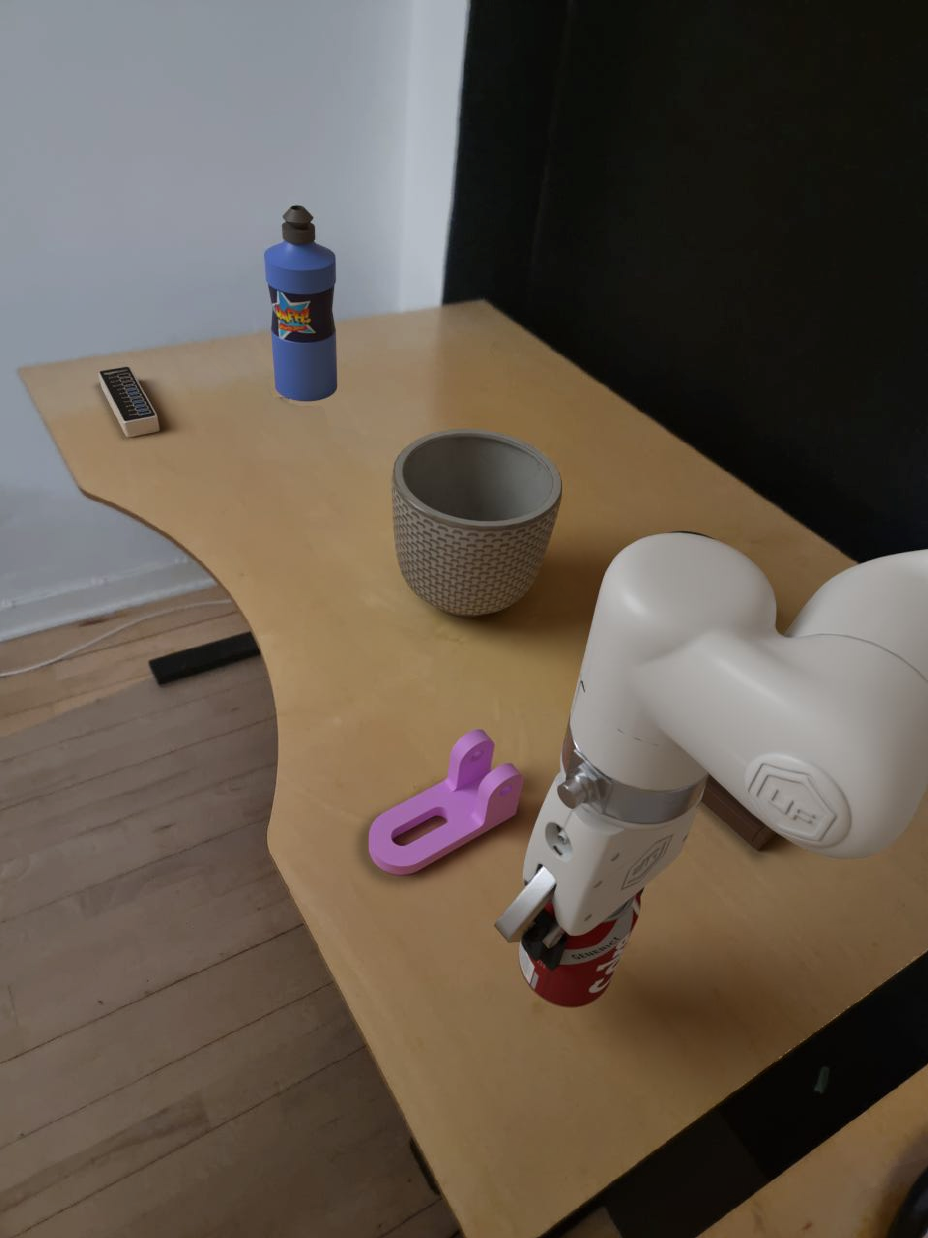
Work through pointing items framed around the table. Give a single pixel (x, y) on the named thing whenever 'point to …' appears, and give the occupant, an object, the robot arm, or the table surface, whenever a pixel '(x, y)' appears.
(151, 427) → the multiport hub
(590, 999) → the soda can
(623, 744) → the robot arm
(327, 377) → the water bottle
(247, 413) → the table surface
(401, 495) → the planter
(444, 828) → the bracket
